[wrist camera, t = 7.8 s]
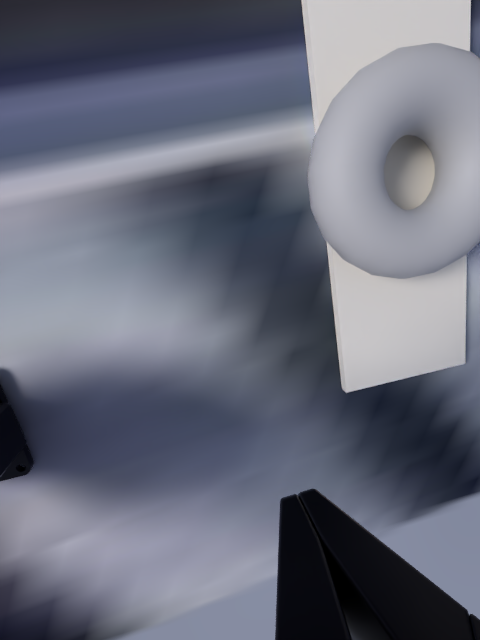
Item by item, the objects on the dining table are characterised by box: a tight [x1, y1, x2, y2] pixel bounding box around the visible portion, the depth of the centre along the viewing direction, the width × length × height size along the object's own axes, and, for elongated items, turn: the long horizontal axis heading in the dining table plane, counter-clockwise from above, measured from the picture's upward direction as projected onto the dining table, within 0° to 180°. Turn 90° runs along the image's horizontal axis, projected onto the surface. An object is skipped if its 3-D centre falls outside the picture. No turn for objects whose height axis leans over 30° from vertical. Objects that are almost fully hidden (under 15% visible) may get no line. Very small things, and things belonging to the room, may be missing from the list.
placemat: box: [301, 0, 471, 393], centre depth 17 cm, size 8×22×1 cm, turn 11°
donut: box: [307, 43, 480, 279], centre depth 15 cm, size 10×4×10 cm
